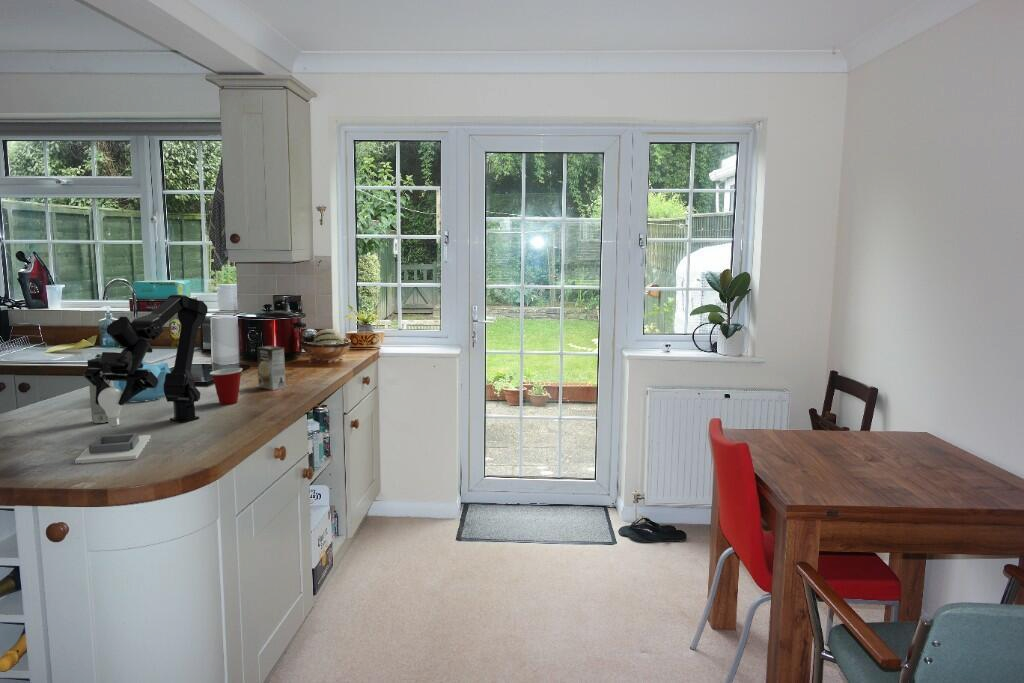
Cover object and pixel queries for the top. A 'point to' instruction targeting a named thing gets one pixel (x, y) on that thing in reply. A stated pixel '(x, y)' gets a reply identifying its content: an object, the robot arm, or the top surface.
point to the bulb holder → (113, 448)
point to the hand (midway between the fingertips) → (108, 404)
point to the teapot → (149, 393)
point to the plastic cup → (227, 384)
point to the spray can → (96, 410)
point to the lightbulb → (111, 404)
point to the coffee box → (271, 367)
